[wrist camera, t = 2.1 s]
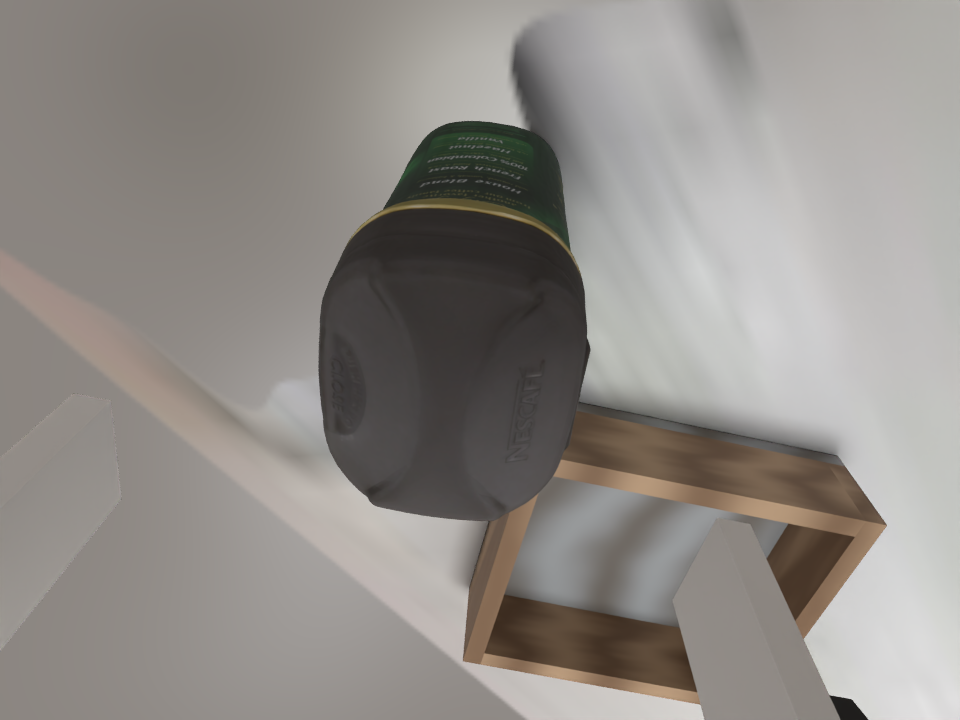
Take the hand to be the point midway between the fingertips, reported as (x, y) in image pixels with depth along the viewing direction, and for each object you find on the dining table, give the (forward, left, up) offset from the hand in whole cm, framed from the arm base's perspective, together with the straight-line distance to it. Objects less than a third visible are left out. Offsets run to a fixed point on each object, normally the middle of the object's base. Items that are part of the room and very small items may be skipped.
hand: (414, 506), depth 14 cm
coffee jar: (0, 0, -22) cm, 22 cm away
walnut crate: (-15, +19, -22) cm, 33 cm away
